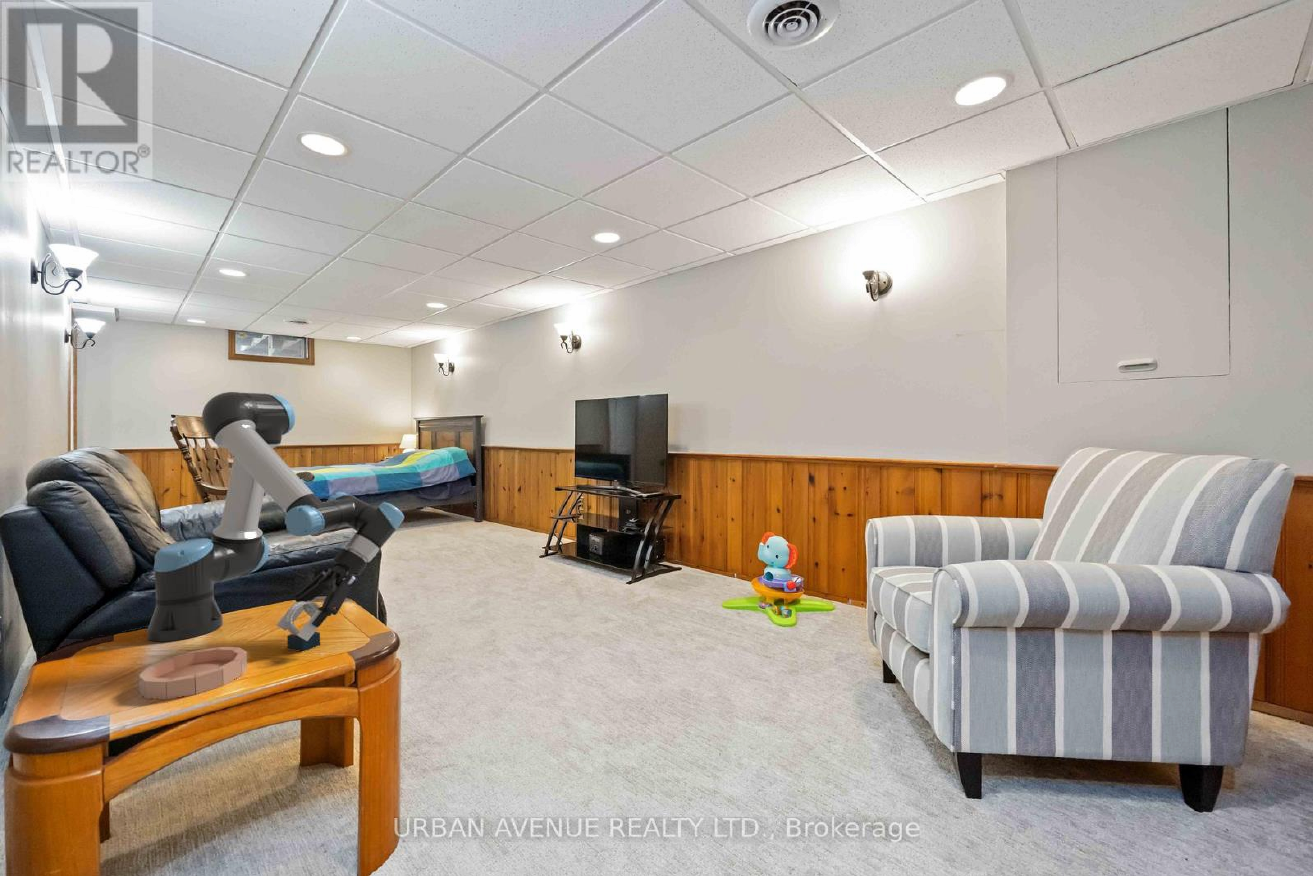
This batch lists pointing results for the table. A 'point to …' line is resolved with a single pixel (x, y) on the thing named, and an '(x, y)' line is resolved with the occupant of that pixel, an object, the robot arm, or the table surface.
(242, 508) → the robot arm
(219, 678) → the dish
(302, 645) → the watch
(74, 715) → the table surface
